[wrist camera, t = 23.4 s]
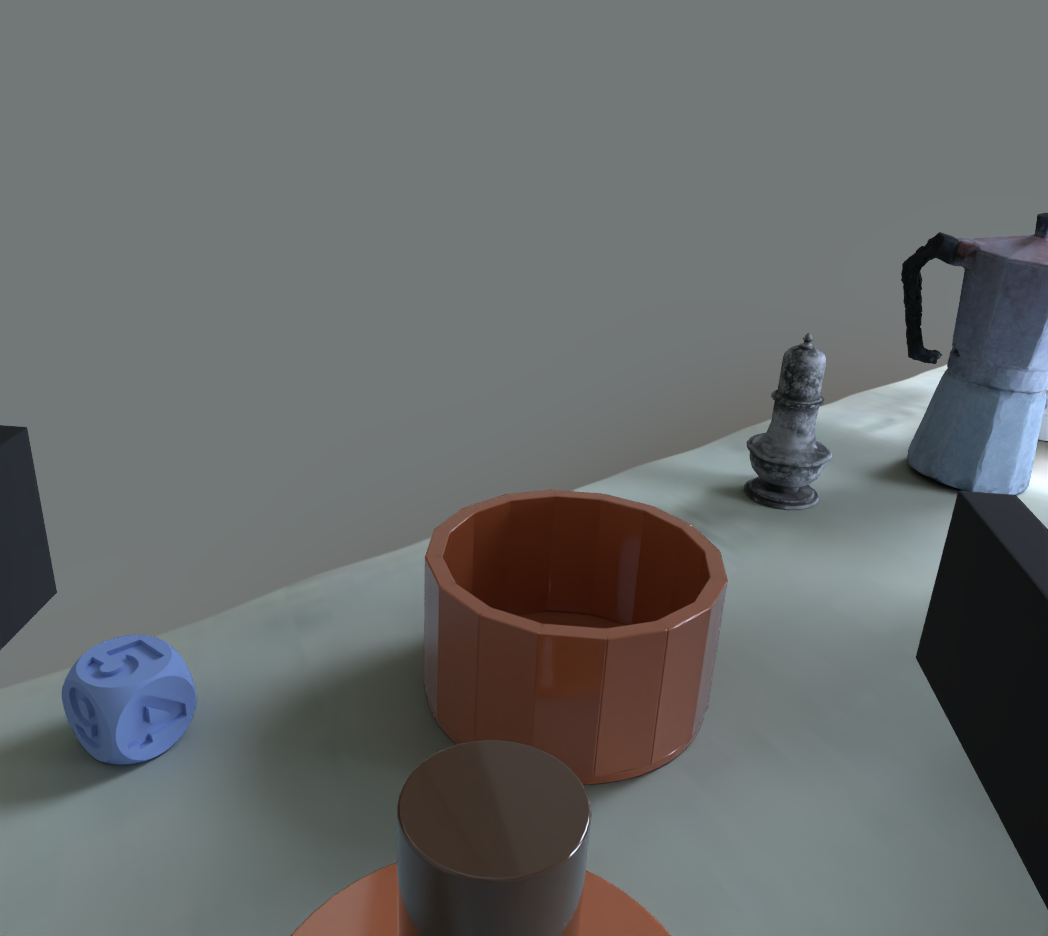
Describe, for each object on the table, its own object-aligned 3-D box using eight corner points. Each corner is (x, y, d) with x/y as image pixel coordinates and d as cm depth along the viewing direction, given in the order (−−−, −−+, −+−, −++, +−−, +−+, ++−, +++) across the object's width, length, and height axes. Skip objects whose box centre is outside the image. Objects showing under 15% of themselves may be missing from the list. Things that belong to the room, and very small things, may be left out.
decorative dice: (201, 732, 43) (193, 657, 41) (119, 780, 40) (107, 701, 38) (149, 695, 45) (139, 623, 43) (68, 738, 42) (54, 662, 40)
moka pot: (1093, 505, 70) (1182, 229, 62) (886, 497, 69) (949, 217, 61) (1028, 454, 79) (1099, 206, 71) (843, 447, 78) (894, 196, 70)
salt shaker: (723, 482, 70) (746, 324, 66) (786, 472, 73) (813, 318, 68) (774, 516, 66) (803, 348, 61) (840, 504, 68) (873, 341, 63)
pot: (690, 622, 53) (708, 500, 50) (720, 798, 40) (746, 650, 37) (447, 603, 53) (449, 481, 50) (402, 770, 41) (402, 623, 38)
